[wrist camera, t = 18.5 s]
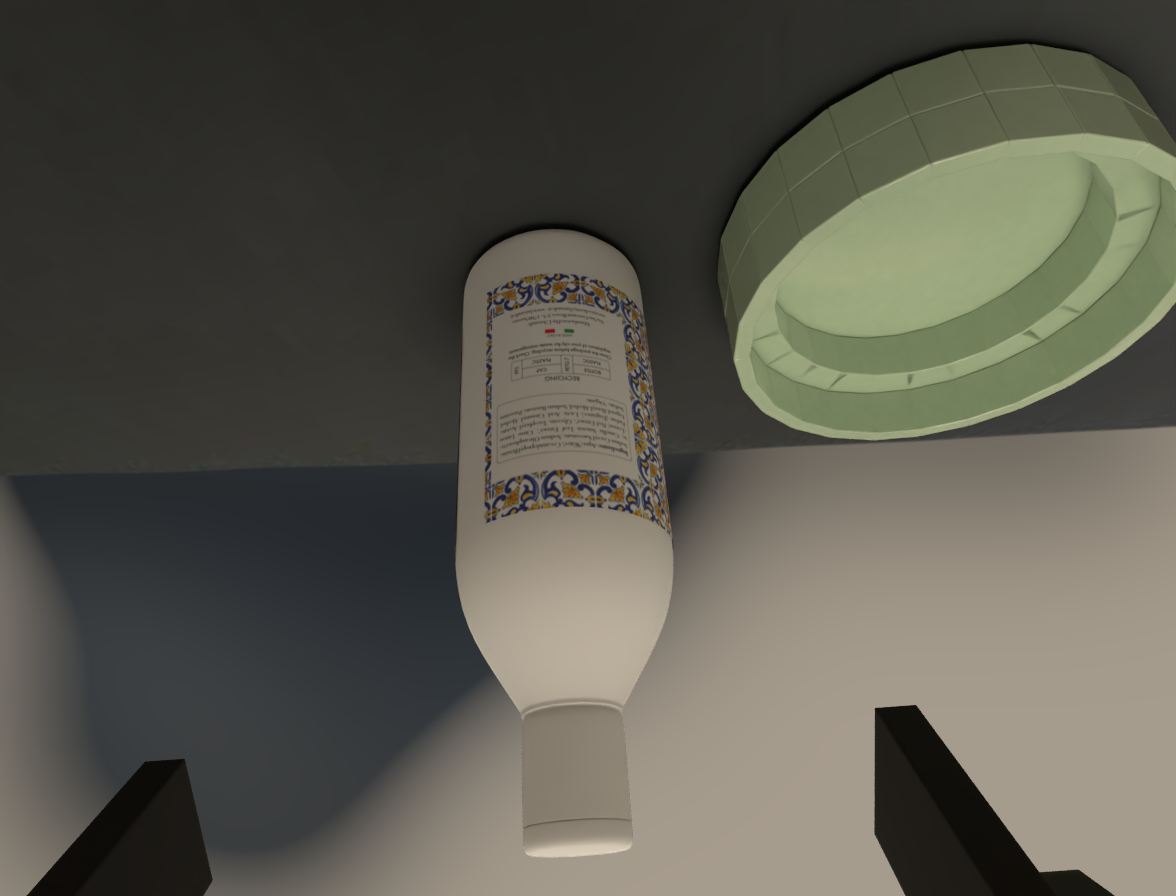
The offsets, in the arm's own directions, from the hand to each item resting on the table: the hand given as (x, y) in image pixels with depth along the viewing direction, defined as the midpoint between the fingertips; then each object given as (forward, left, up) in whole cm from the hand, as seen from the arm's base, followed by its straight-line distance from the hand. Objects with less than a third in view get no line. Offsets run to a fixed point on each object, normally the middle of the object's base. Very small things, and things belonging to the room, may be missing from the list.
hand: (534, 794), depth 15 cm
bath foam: (-2, -7, -20) cm, 21 cm away
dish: (+12, -9, -20) cm, 25 cm away
